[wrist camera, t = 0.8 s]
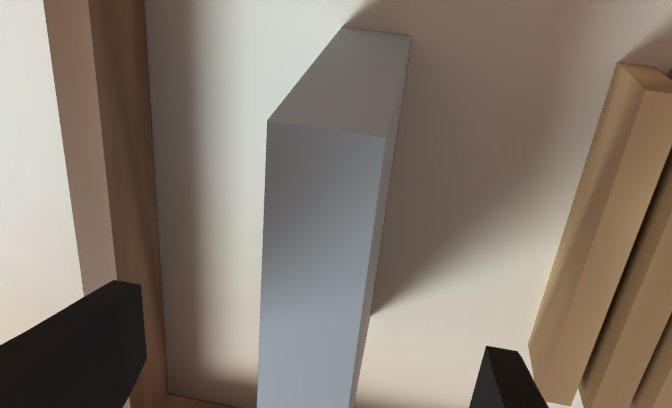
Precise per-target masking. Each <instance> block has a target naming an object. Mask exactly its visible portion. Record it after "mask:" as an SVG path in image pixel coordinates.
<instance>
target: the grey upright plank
mask: <svg viewBox="0 0 672 408" xmlns="http://www.w3.org/2000/svg"><path fill="white" fill-rule="evenodd" d="M411 38H412V36H407V35H399V34H392V33H384V32H376V31H368V30H360V29H352V28H345V27H341V29H340V30H339V31H338V32H337V34H336V35H335V36H334V37H333V39H332V40H331V41H330V42H329V44H328V45H327V46H326V48H325V49H324V50H323V51H322V53H321V54H320V55H319V56H318V58H317V59H316V60H315V61H314V63H313V64H312V65H311V66H310V68H309V69H308V70H307V71H306V73H305V74H304V75H303V76H302V78H301V79H300V80H299V81H298V83H297V84H296V85H295V86H294V88H293V89H292V90H291V91H290V93H289V94H288V95H287V96H286V98H285V99H284V100H283V101H282V103H281V104H280V105H279V106H278V108H277V109H276V110H275V111H274V113H273V114H272V115H271V116H270V118H269V119H268V120H267V143H266V170H265V197H264V224H263V251H262V279H261V306H260V333H259V360H258V388H257V408H353V407H354V402H355V396H356V391H357V385H358V380H359V374H360V369H361V364H362V358H363V353H364V347H365V342H366V336H367V331H368V325H369V320H370V314H371V307H372V301H373V294H374V287H375V281H376V274H377V267H378V260H379V254H380V247H381V240H382V233H383V227H384V220H385V213H386V207H387V200H388V193H389V186H390V180H391V173H392V166H393V159H394V153H395V146H396V139H397V132H398V126H399V119H400V112H401V106H402V99H403V92H404V85H405V79H406V72H407V65H408V58H409V52H410V45H411Z"/></svg>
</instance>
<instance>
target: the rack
mask: <svg viewBox="0 0 672 408" xmlns="http://www.w3.org/2000/svg"><path fill="white" fill-rule="evenodd" d="M43 2H44V9H45V17H46V24H47V31H48V38H49V46H50V53H51V60H52V67H53V74H54V82H55V89H56V96H57V103H58V111H59V118H60V125H61V132H62V139H63V147H64V154H65V161H66V168H67V176H68V183H69V190H70V197H71V204H72V212H73V219H74V226H75V233H76V241H77V248H78V255H79V262H80V269H81V277H82V284H83V291H84V297H85V296H86V295H88V294H90V293H92V292H93V291H95V290H97V289H98V288H100V287H102V286H104V285H105V284H107V283H109V282H111V281H113V280H118V281H123V282H129V283H135V284H140V285H141V290H142V302H143V314H144V326H145V339H146V351H147V360H146V362H145V364H144V366H143V368H142V370H141V373H140V375H139V377H138V379H137V381H136V383H135V385H134V387H133V389H132V391H131V393H130V395H129V397H128V400H127V401H126V403H125V405H124V406H123V408H234V407H229V406H224V405H218V404H213V403H208V402H203V401H198V400H193V399H188V398H183V397H178V396H173V395H168V387H167V371H166V354H165V338H164V322H163V305H162V289H161V273H160V256H159V240H158V224H157V207H156V191H155V175H154V158H153V142H152V126H151V109H150V93H149V77H148V60H147V44H146V28H145V11H144V0H43Z"/></svg>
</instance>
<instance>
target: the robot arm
mask: <svg viewBox="0 0 672 408" xmlns="http://www.w3.org/2000/svg"><path fill="white" fill-rule="evenodd" d="M146 360H147V351H146V339H145V326H144V314H143V302H142V290H141V285H140V284H135V283H129V282H123V281H118V280H113V281H111V282H109V283H107V284H105V285H104V286H102V287H100V288H98V289H97V290H95V291H93V292H92V293H90V294H88V295H86V296H85V297H83V298H81V299H80V300H78V301H77V302H75V303H73V304H72V305H70V306H68V307H67V308H65V309H63V310H62V311H60V312H58V313H56V314H55V315H53V316H51V317H50V318H48V319H46V320H45V321H43V322H41V323H39V324H38V325H36V326H34V327H33V328H31V329H29V330H27V331H26V332H24V333H22V334H20V335H18V336H17V337H15V338H13V339H11V340H9V341H7V342H5V343H4V344H2V345H0V408H123V406H124V405H125V403H126V401H127V400H128V397H129V395H130V393H131V391H132V389H133V387H134V385H135V383H136V381H137V379H138V377H139V375H140V373H141V370H142V368H143V366H144V364H145V362H146ZM469 408H549V407H548V405H547V404H546V402H545V400H544V398H543V396H542V395H541V393H540V391H539V389H538V387H537V386H536V384H535V382H534V380H533V378H532V376H531V374H530V372H529V370H528V369H527V367H526V365H525V363H524V361H523V359H522V357H521V356H520V354H519V353H518V351H513V350H507V349H501V348H496V347H490V346H486V348H485V352H484V356H483V359H482V363H481V367H480V370H479V374H478V378H477V381H476V385H475V388H474V392H473V396H472V399H471V403H470V407H469Z"/></svg>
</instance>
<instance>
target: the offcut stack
mask: <svg viewBox="0 0 672 408" xmlns="http://www.w3.org/2000/svg"><path fill="white" fill-rule="evenodd" d="M528 347H529V353H530V358H531V364H532V370H533V375H534V381H535V384H536V386H537V387H538V389H539V391H540V393H541V395H542V396H543V398H544V400H545V401H546V402H551V403H557V404H562V405H567V406H571V404H572V401H573V399H574V396H575V394H576V391H577V389H578V388H579V392H580V396H581V400H582V403H583V407H584V408H672V69H671V71H670V74H669V77H667V76H666V75H665V74H663V73H662V72H661V71H660V70H659V69H657V68H656V67H650V66H643V65H635V64H627V63H619V62H617V66H616V69H615V72H614V75H613V78H612V81H611V85H610V88H609V91H608V94H607V97H606V100H605V103H604V107H603V110H602V113H601V116H600V119H599V122H598V125H597V129H596V132H595V135H594V138H593V141H592V144H591V148H590V151H589V154H588V157H587V160H586V163H585V166H584V170H583V173H582V176H581V179H580V182H579V185H578V188H577V192H576V195H575V198H574V201H573V204H572V207H571V210H570V214H569V217H568V220H567V223H566V226H565V229H564V233H563V236H562V239H561V242H560V245H559V248H558V251H557V255H556V258H555V261H554V264H553V267H552V270H551V273H550V277H549V280H548V283H547V286H546V289H545V292H544V296H543V299H542V302H541V305H540V308H539V311H538V314H537V318H536V321H535V324H534V327H533V330H532V333H531V336H530V340H529V343H528Z"/></svg>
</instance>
